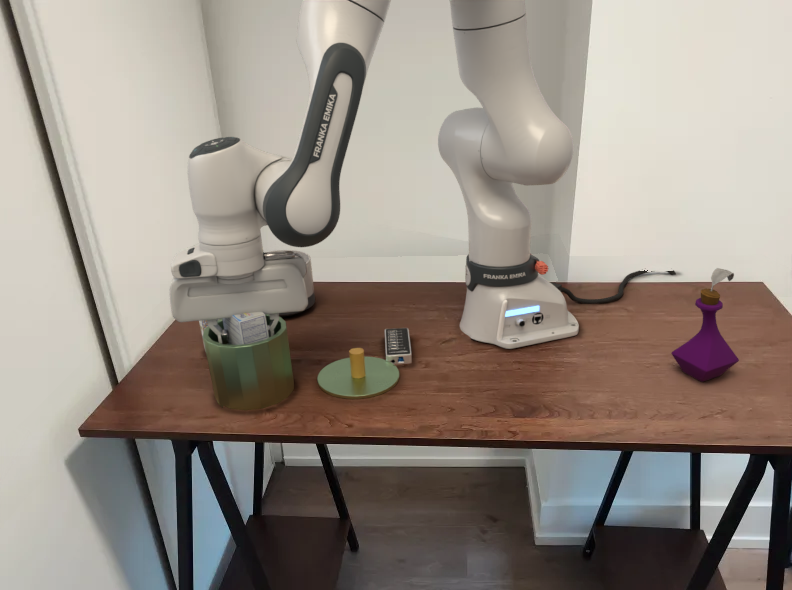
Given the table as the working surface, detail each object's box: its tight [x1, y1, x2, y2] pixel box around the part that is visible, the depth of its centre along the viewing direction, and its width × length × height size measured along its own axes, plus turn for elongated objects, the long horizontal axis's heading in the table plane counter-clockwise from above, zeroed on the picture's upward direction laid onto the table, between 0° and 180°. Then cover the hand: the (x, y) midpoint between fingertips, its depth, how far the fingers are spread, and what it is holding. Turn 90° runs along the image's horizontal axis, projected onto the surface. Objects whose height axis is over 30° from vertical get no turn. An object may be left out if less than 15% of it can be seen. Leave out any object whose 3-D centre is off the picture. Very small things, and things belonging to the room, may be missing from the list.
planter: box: [264, 249, 316, 318], centre depth 139 cm, size 13×13×10 cm
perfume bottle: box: [670, 267, 740, 383], centre depth 109 cm, size 8×8×18 cm
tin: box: [202, 314, 295, 411], centre depth 109 cm, size 13×13×12 cm
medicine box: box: [222, 312, 269, 345], centre depth 107 cm, size 8×4×9 cm, turn 35°
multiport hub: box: [384, 327, 413, 365], centre depth 123 cm, size 4×11×2 cm, turn 3°
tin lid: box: [316, 347, 400, 400], centre depth 113 cm, size 14×14×6 cm
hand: (247, 340), depth 107 cm, fingers closed on medicine box, 6 cm apart
